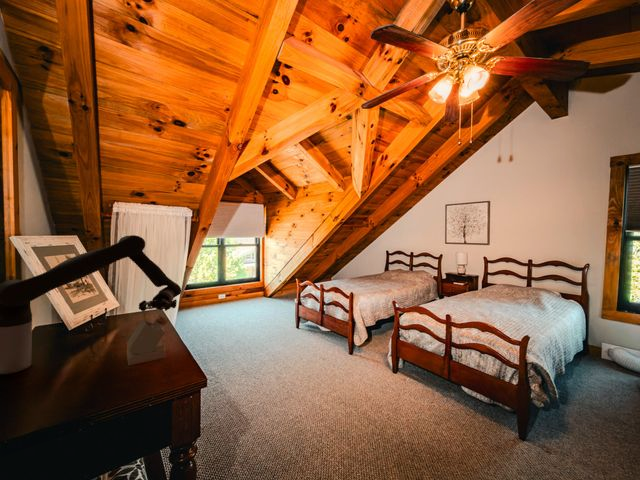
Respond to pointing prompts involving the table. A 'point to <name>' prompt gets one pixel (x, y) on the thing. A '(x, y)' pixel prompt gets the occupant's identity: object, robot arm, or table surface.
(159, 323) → the peg
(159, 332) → the socket
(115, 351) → the table surface
